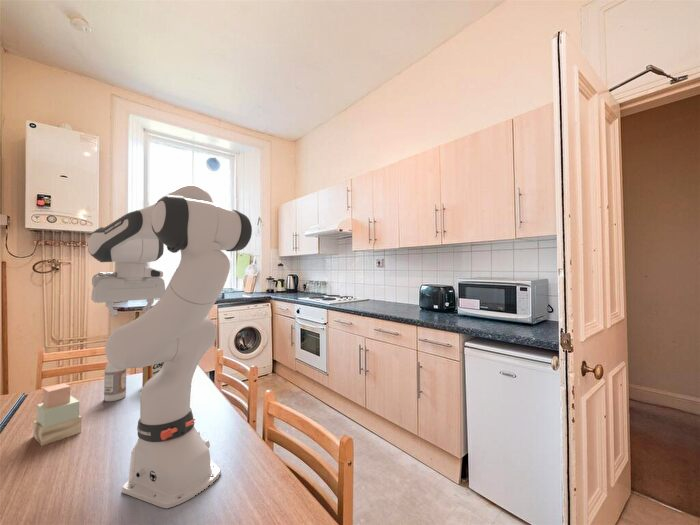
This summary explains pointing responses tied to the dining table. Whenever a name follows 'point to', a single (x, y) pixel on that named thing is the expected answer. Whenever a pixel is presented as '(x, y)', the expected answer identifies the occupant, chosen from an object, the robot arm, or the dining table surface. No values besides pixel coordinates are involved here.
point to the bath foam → (114, 383)
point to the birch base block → (56, 430)
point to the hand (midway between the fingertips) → (130, 314)
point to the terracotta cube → (56, 395)
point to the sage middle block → (57, 413)
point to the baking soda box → (150, 372)
